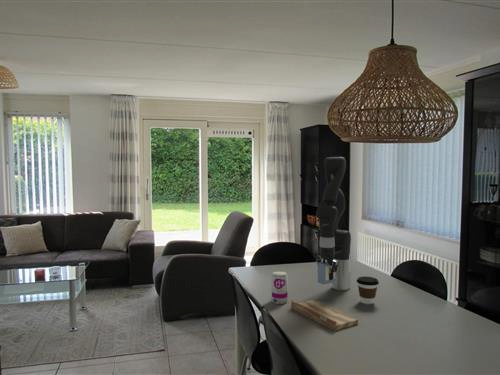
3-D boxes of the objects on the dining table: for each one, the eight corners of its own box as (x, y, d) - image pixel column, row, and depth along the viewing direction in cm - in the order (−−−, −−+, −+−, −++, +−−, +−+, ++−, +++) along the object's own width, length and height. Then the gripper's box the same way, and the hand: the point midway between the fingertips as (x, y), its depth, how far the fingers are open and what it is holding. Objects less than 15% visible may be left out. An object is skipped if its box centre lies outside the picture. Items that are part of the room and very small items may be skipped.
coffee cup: (379, 300, 205) (380, 277, 204) (376, 307, 195) (377, 283, 194) (358, 297, 209) (358, 275, 209) (354, 304, 200) (354, 280, 199)
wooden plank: (313, 303, 200) (313, 295, 200) (358, 323, 175) (358, 315, 174) (290, 308, 193) (290, 300, 192) (334, 330, 167) (334, 321, 167)
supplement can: (286, 305, 198) (286, 275, 197) (270, 303, 199) (270, 274, 199) (288, 299, 206) (288, 271, 205) (272, 298, 207) (272, 270, 206)
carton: (329, 279, 204) (329, 260, 204) (336, 281, 200) (336, 262, 199) (317, 282, 200) (317, 262, 199) (324, 284, 196) (324, 265, 195)
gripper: (342, 247, 195) (342, 280, 196) (322, 241, 207) (322, 273, 208) (331, 249, 191) (331, 283, 192) (311, 243, 203) (312, 276, 204)
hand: (327, 278), depth 200 cm, fingers closed on carton, 5 cm apart
